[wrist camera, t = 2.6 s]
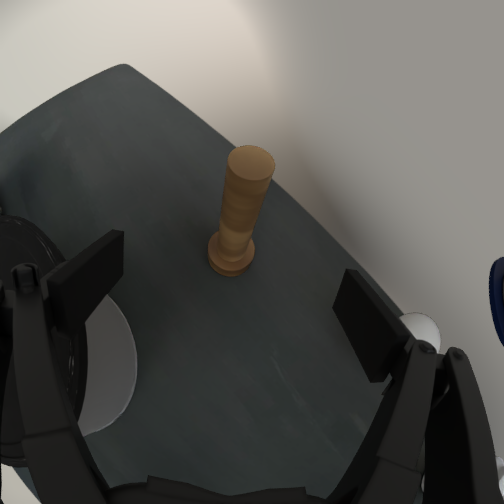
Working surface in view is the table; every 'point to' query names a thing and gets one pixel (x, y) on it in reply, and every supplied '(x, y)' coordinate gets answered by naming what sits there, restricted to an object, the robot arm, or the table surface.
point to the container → (69, 348)
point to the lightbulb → (423, 328)
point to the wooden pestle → (240, 209)
